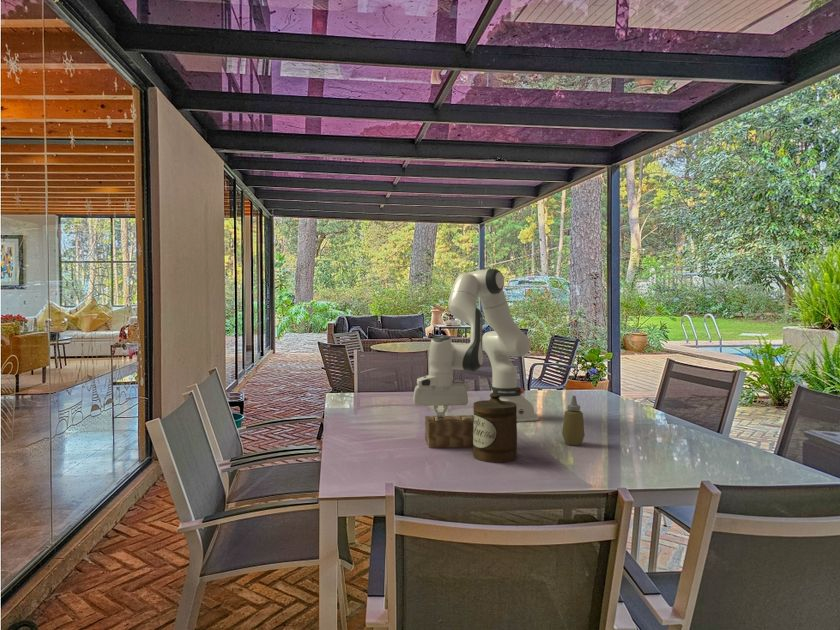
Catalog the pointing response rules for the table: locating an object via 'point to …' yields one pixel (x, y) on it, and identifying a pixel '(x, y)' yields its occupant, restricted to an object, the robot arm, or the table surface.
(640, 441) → the table surface
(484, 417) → the wooden container
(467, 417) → the peg
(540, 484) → the table surface
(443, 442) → the socket block
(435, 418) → the peg
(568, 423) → the squeeze bottle
